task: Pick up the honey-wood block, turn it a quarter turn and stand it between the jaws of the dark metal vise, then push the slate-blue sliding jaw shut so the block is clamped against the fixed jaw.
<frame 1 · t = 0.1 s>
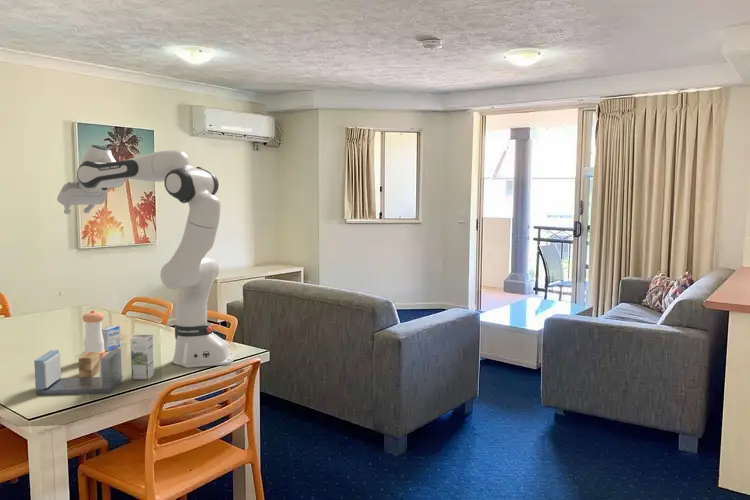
hand: (76, 213, 234), 54 cm above the table, tool tilted 30°, fingers open, 8 cm apart
wooden block: (89, 374, 201), on the table
syrup box: (142, 378, 198), on the table
vise jaw: (48, 369, 186), point 6 cm above the table, slide at 8.0 cm
medicine box: (109, 349, 234), on the table
vise: (80, 387, 187), on the table
pepper shaker: (94, 361, 217), on the table
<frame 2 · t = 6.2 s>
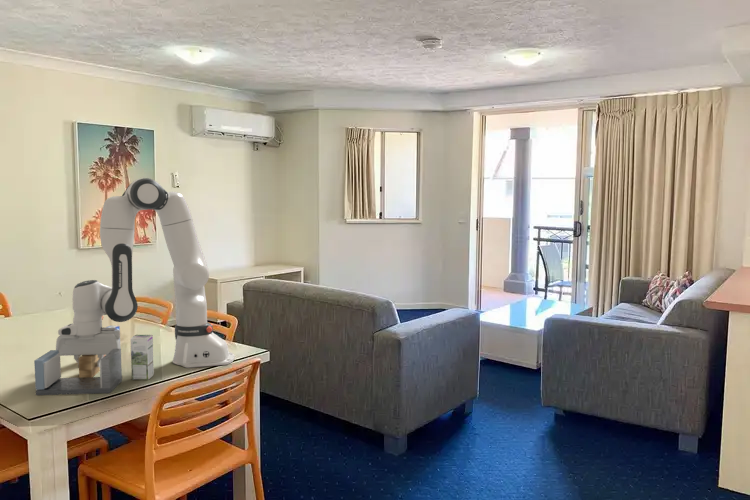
hand: (89, 367, 201), 3 cm above the table, tool pointing down, fingers closed on wooden block, 4 cm apart
wooden block: (89, 374, 201), on the table, touching gripper
everything else where it was.
when the fingers open (6 cm above the table, at t = 14.8 s): wooden block drops 2 cm, resting on vise.
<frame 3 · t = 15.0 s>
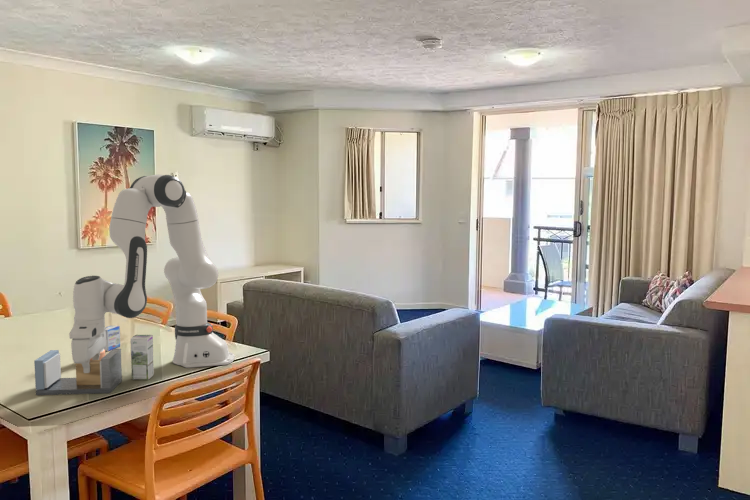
hand: (91, 369, 187), 6 cm above the table, tool pointing down, fingers open, 6 cm apart
wooden block: (91, 382, 188), point 1 cm above the table, touching vise
everything else where it was.
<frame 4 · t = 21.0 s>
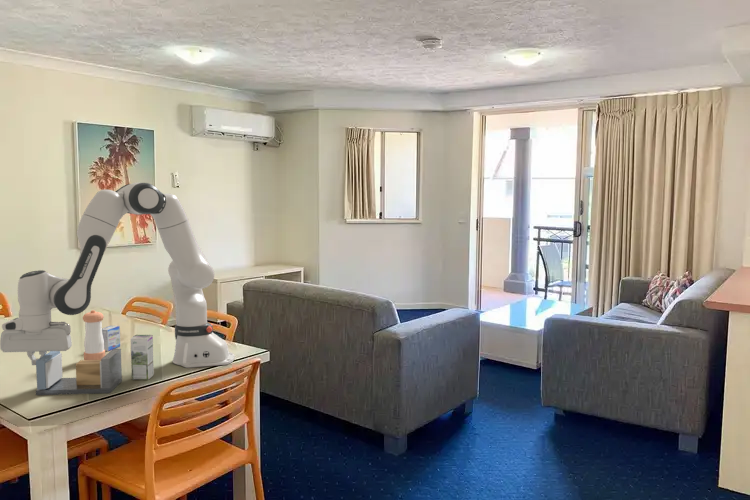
hand: (37, 364, 185), 8 cm above the table, tool pointing down, fingers closed
vise jaw: (49, 369, 186), point 6 cm above the table, slide at 7.5 cm, touching gripper
everything else where it was.
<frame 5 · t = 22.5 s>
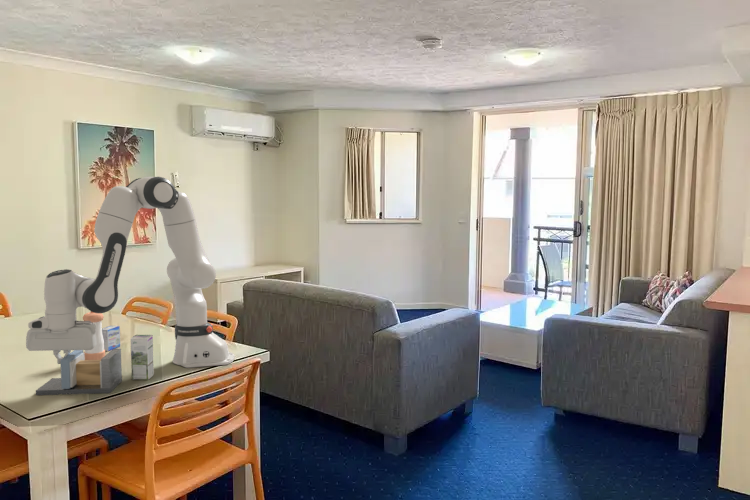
hand: (62, 363, 186), 8 cm above the table, tool pointing down, fingers closed
wooden block: (92, 382, 188), point 1 cm above the table, touching vise, vise jaw
vise jaw: (73, 368, 186), point 6 cm above the table, slide at 0.4 cm, touching gripper, wooden block
everything else where it was.
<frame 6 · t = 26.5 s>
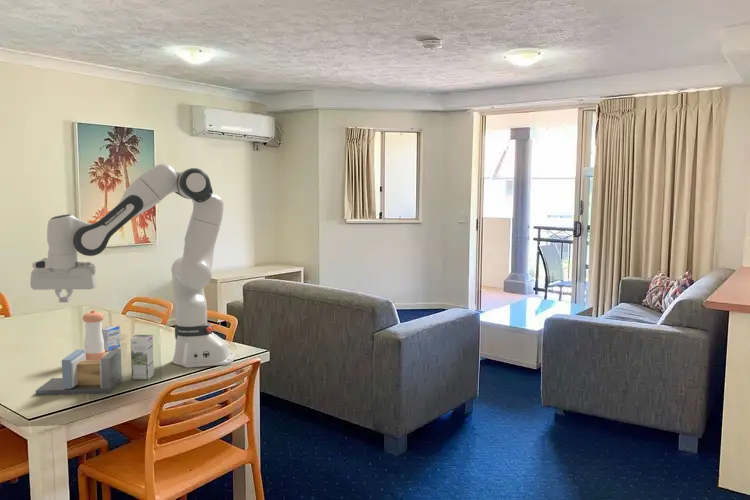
hand: (64, 302, 199), 25 cm above the table, tool pointing down, fingers closed
vise jaw: (74, 368, 187), point 6 cm above the table, slide at 0.0 cm, touching wooden block
everything else where it was.
at the end: vise jaw slide at 0.0 cm; wooden block inside the target area (0.5 cm from its centre), point 1.5 cm above the table; wooden block tilted 0° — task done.
